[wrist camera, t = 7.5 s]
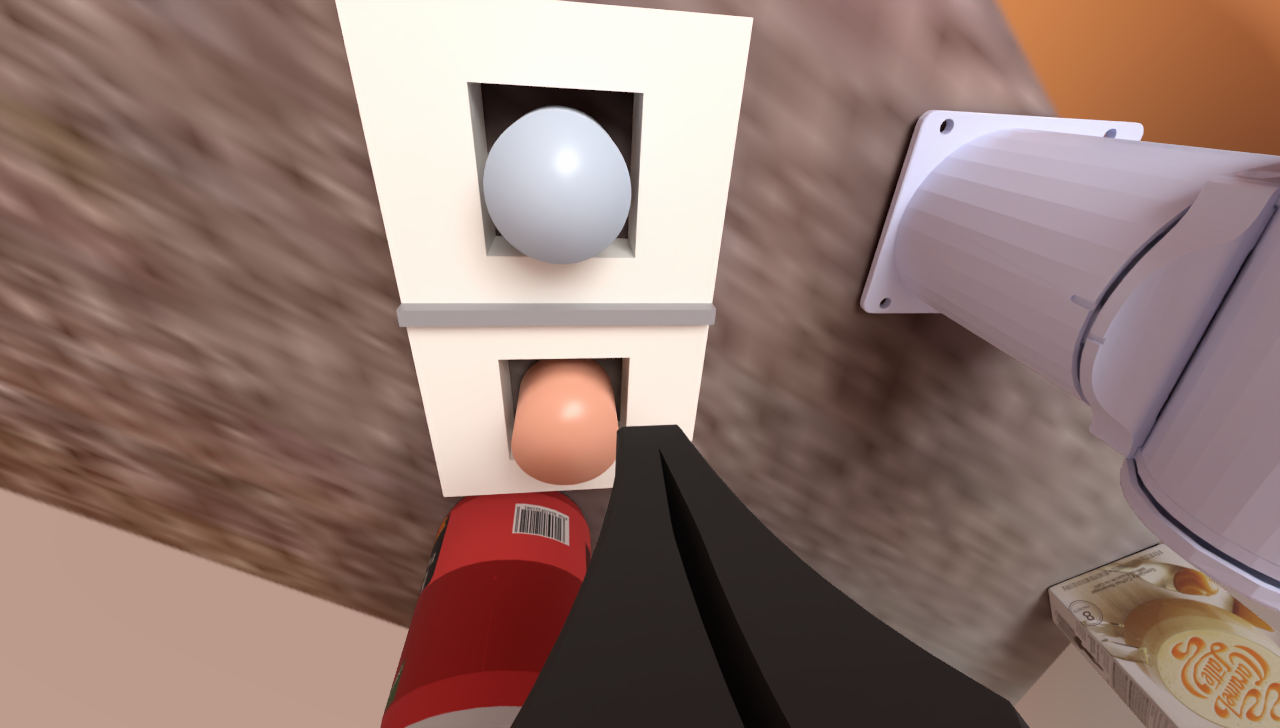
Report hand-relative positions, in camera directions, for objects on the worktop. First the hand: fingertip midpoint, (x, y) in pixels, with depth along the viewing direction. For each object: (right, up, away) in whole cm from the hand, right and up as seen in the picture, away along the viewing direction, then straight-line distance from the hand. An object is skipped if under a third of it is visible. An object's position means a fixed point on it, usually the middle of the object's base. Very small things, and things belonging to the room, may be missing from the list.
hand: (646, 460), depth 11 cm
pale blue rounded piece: (-3, +9, +5) cm, 10 cm away
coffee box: (+37, -15, +27) cm, 48 cm away
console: (-3, +5, +9) cm, 11 cm away
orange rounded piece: (-3, +1, +10) cm, 10 cm away
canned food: (-7, -7, +16) cm, 18 cm away
